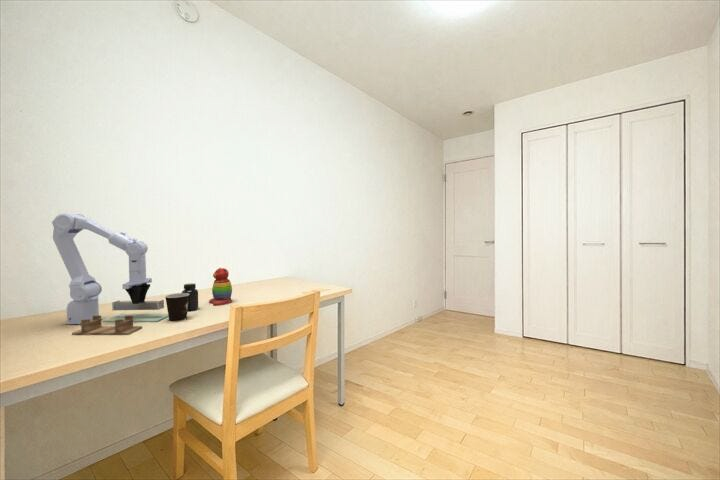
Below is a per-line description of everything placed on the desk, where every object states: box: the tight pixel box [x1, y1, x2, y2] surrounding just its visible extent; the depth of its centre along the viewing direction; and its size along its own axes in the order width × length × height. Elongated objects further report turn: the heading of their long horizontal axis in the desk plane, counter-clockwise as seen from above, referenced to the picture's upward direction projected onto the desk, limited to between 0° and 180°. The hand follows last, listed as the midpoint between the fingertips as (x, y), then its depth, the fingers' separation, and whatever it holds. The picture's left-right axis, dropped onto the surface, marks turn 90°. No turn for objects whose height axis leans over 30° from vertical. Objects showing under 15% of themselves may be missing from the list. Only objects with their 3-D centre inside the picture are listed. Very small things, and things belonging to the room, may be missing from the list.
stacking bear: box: [208, 267, 233, 307], centre depth 155 cm, size 11×10×18 cm
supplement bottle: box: [181, 283, 199, 312], centre depth 142 cm, size 7×7×12 cm
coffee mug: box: [165, 292, 189, 322], centre depth 129 cm, size 12×9×10 cm
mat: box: [102, 313, 169, 323], centre depth 128 cm, size 22×10×1 cm, turn 91°
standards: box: [71, 314, 143, 336], centre depth 112 cm, size 20×7×5 cm, turn 91°
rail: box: [111, 299, 165, 311], centre depth 128 cm, size 19×3×3 cm, turn 91°
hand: (138, 302), depth 128 cm, fingers closed on rail, 3 cm apart
